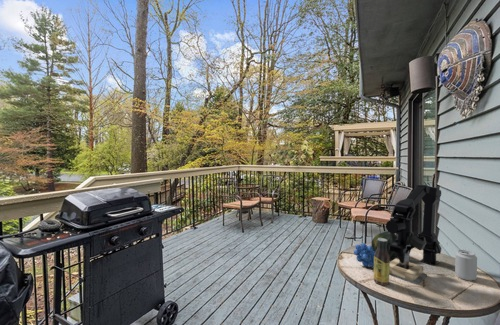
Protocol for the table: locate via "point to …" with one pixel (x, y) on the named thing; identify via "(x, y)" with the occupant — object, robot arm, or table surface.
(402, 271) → the socket
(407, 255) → the peg
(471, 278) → the can
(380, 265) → the sauce bottle
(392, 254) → the squash
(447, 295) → the table surface
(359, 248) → the grapes
